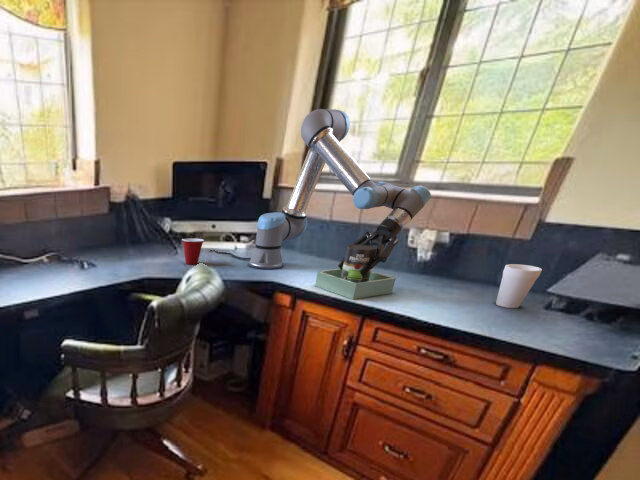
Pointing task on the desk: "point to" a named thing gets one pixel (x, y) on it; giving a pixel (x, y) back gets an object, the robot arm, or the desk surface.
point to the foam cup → (516, 284)
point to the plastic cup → (192, 250)
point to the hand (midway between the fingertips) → (350, 270)
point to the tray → (355, 284)
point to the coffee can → (357, 262)
